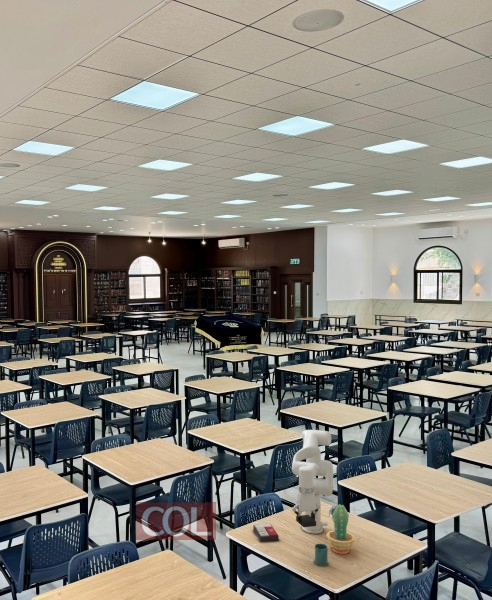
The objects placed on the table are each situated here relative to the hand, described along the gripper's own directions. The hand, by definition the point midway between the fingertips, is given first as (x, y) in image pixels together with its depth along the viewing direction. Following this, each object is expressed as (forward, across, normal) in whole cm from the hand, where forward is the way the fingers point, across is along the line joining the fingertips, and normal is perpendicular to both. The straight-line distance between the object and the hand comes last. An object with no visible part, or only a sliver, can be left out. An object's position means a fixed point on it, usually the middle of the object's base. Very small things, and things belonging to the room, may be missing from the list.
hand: (306, 521), depth 300 cm
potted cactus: (+20, -23, -3) cm, 31 cm away
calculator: (+20, +10, -30) cm, 38 cm away
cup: (+20, -5, +7) cm, 22 cm away
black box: (+1, 0, 0) cm, 1 cm away
